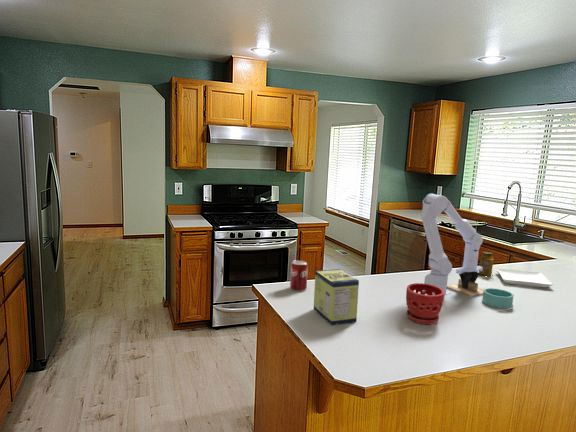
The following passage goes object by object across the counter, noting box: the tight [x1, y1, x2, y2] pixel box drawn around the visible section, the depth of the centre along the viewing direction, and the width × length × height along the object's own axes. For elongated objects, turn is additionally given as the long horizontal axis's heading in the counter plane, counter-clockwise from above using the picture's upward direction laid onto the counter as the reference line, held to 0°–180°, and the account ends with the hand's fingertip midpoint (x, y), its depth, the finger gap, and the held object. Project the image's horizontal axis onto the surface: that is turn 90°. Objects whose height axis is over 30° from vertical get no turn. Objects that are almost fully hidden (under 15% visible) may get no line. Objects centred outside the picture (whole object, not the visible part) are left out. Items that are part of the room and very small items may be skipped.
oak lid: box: [447, 278, 484, 298], centre depth 185 cm, size 13×13×4 cm
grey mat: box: [446, 289, 483, 299], centre depth 186 cm, size 15×15×1 cm
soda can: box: [289, 260, 309, 292], centre depth 180 cm, size 7×7×12 cm
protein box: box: [313, 268, 360, 326], centre depth 151 cm, size 10×16×16 cm
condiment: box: [478, 251, 495, 279], centre depth 213 cm, size 7×8×12 cm
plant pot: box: [405, 282, 445, 325], centre depth 151 cm, size 13×13×12 cm
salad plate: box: [495, 268, 553, 288], centre depth 205 cm, size 21×21×3 cm
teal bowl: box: [481, 287, 515, 310], centre depth 171 cm, size 11×11×5 cm
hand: (467, 287), depth 185 cm, fingers closed on oak lid, 3 cm apart
